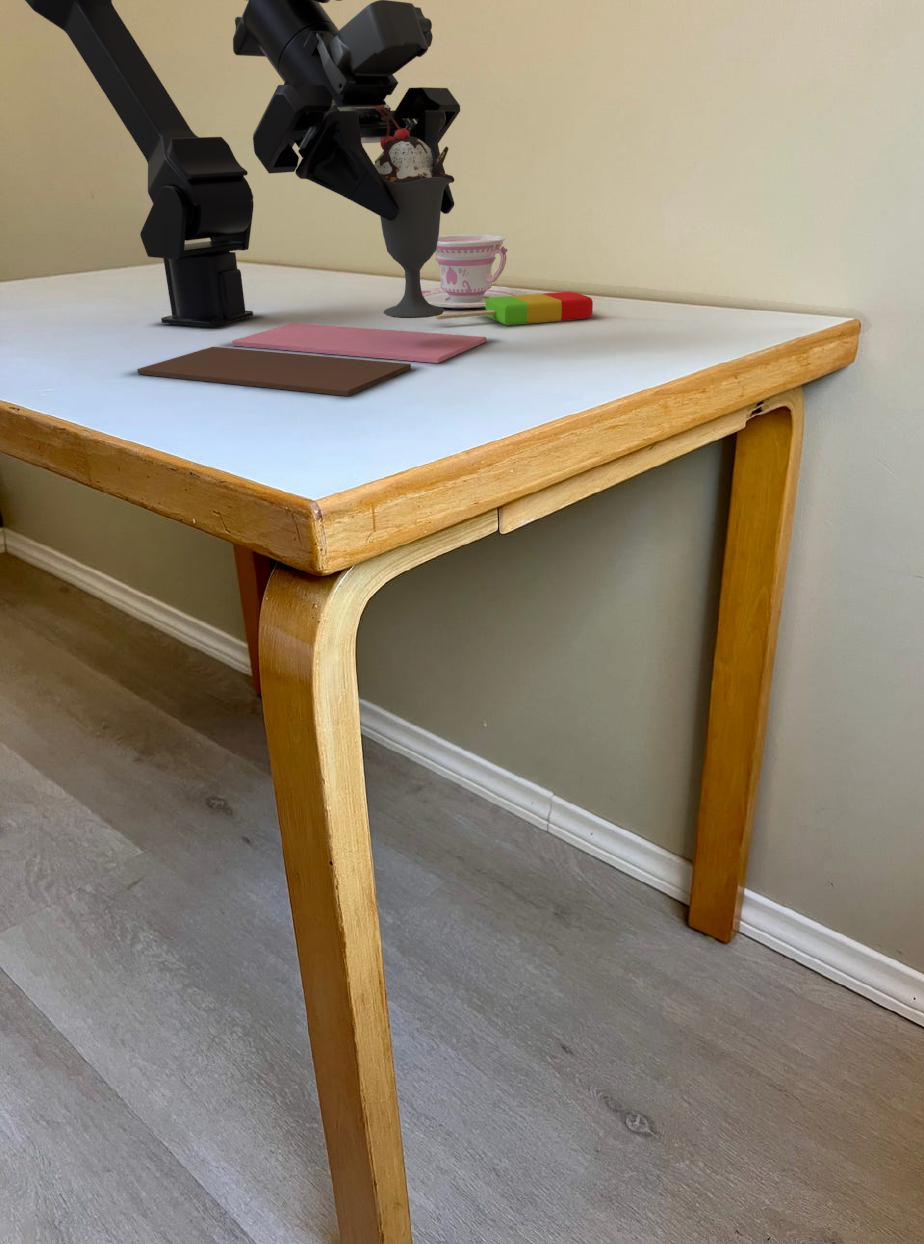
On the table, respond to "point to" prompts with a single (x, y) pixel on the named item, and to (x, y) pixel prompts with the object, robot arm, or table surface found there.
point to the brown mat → (277, 370)
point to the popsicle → (533, 308)
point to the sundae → (412, 212)
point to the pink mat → (362, 342)
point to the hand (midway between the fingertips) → (423, 212)
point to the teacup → (468, 271)
